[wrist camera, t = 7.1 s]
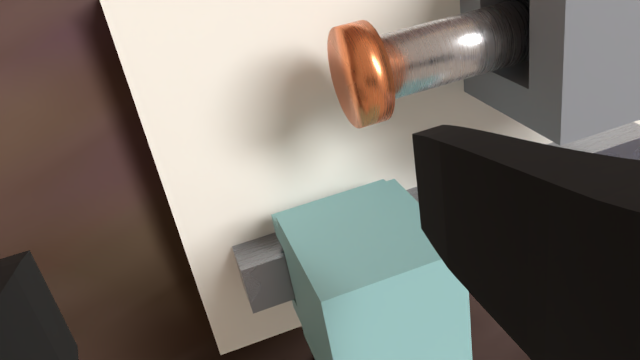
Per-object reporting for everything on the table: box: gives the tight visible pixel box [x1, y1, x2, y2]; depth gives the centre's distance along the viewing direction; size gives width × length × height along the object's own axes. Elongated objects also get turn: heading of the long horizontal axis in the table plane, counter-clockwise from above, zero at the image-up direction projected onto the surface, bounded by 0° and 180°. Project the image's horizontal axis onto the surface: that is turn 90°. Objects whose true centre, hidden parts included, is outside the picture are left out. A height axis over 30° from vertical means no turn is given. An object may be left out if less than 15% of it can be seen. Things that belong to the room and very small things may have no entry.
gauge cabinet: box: [460, 0, 640, 146], centre depth 18 cm, size 6×5×5 cm
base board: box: [100, 0, 640, 355], centre depth 21 cm, size 19×13×1 cm
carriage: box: [271, 179, 472, 360], centre depth 18 cm, size 4×5×5 cm
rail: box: [232, 122, 640, 314], centre depth 21 cm, size 16×2×2 cm, turn 100°
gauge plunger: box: [327, 0, 530, 129], centre depth 17 cm, size 6×3×3 cm, turn 100°
